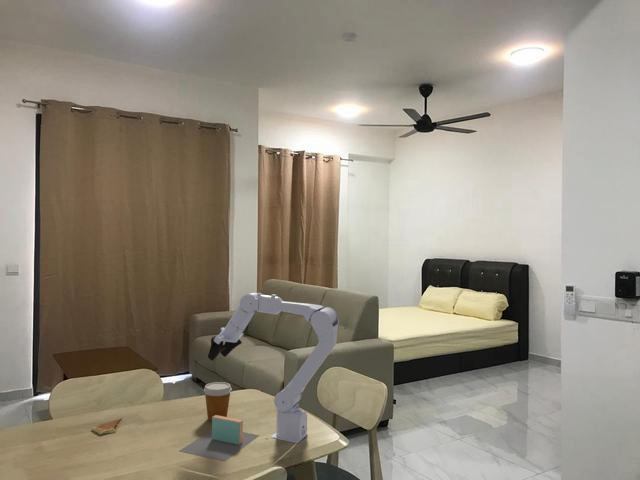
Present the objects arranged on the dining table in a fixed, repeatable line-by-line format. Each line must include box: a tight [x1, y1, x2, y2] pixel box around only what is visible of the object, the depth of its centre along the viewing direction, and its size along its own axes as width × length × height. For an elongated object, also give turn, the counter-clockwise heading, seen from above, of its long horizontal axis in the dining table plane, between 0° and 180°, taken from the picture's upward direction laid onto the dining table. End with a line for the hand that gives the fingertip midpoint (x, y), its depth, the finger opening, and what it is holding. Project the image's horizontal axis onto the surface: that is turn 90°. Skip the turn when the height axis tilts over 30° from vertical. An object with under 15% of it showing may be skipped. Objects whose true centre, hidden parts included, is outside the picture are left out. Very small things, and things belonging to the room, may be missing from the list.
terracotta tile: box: [211, 415, 244, 445], centre depth 155 cm, size 10×2×7 cm, turn 68°
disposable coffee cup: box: [203, 381, 233, 423], centre depth 173 cm, size 10×10×12 cm
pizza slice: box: [91, 417, 123, 435], centre depth 164 cm, size 11×8×2 cm
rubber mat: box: [178, 430, 260, 462], centre depth 153 cm, size 16×20×1 cm
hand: (216, 356), depth 167 cm, fingers open, 7 cm apart
